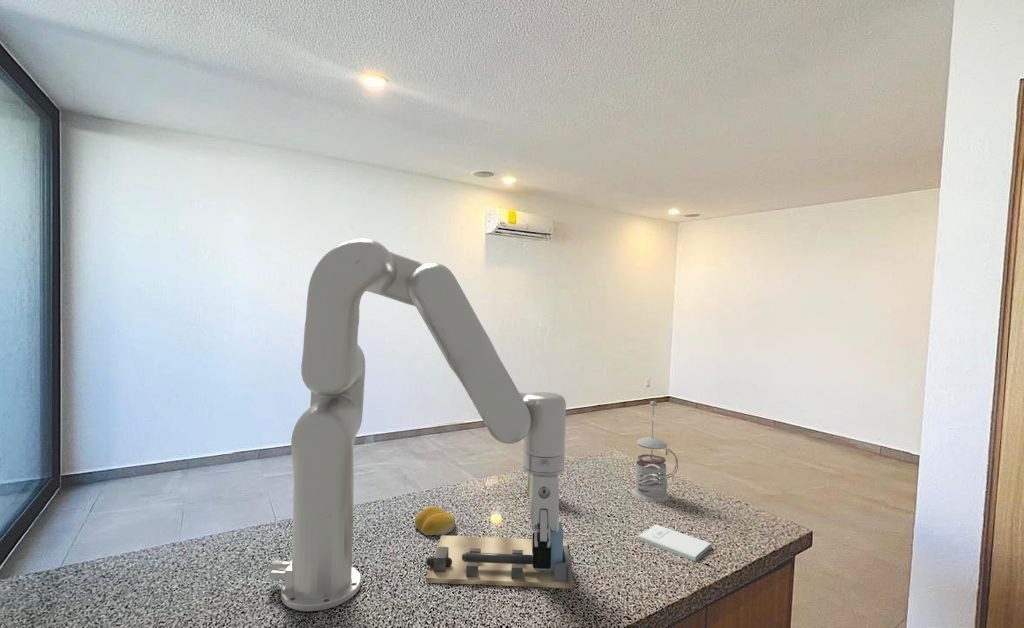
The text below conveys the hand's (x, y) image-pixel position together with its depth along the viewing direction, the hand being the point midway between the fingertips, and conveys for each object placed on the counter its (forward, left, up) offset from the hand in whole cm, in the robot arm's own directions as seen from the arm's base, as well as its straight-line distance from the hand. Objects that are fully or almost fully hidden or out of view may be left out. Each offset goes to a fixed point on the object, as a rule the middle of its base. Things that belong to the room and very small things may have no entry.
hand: (541, 559), depth 89 cm
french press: (+32, +41, -3) cm, 52 cm away
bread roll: (-23, +17, -3) cm, 29 cm away
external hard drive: (+29, +14, -4) cm, 32 cm away
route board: (-7, +4, -3) cm, 9 cm away
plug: (-5, 0, -1) cm, 6 cm away
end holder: (+4, 0, -2) cm, 4 cm away
